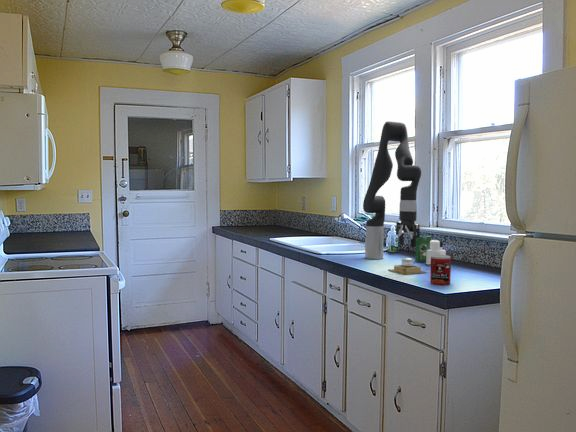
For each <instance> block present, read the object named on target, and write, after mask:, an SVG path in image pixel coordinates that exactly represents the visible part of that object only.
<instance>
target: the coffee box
mask: <svg viewBox="0 0 576 432" xmlns="http://www.w3.org/2000/svg"><path fill="white" fill-rule="evenodd" d="M431 240H432V236H431V235H422V236H421V235H420V237H419V238H417V239H416V247H415V255H414V256H415V257H414V258H415V259H414V260H415V263H423V262H425V263H426V251H427V250H430V241H431Z"/></svg>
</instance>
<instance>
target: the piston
mask: <svg viewBox="0 0 576 432" xmlns="http://www.w3.org/2000/svg"><path fill="white" fill-rule="evenodd" d="M401 265H402V267H405V268H409V267H413V265H414V259H413V258H411V257H402V258H401Z"/></svg>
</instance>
